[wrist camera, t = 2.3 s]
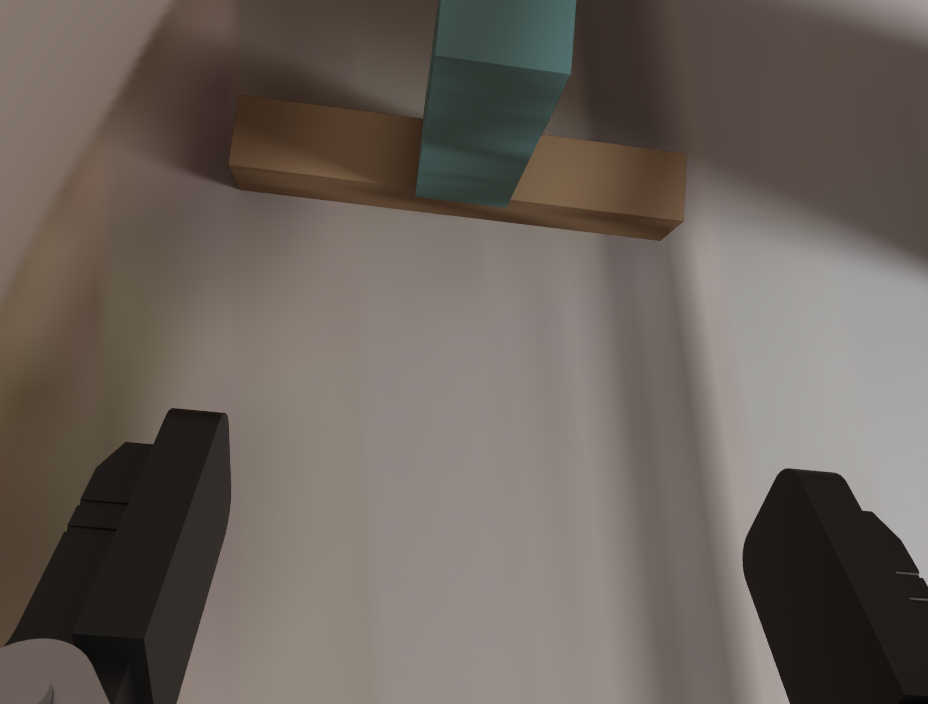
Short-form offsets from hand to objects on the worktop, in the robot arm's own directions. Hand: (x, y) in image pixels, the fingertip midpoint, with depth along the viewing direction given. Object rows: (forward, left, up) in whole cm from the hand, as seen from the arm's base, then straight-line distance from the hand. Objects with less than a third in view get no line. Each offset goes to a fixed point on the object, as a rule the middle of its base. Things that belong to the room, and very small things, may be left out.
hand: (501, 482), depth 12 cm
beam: (-2, -10, -16) cm, 19 cm away
